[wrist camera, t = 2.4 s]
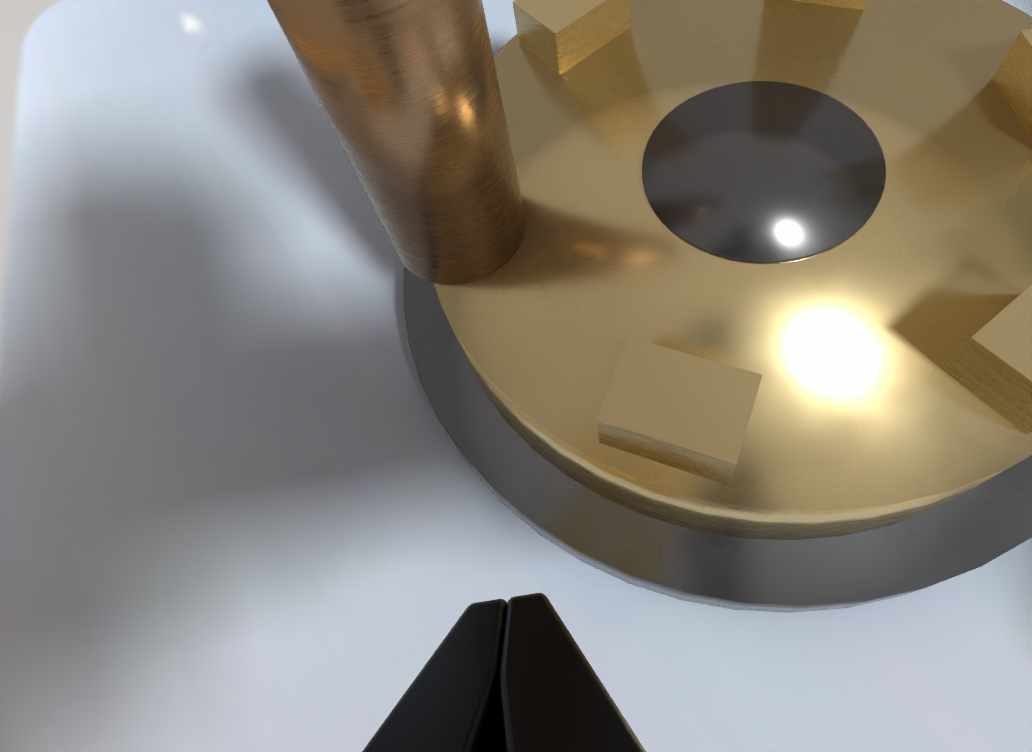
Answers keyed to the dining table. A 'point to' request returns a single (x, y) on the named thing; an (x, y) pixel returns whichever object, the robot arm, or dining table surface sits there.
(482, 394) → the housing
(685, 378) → the brass turntable disc
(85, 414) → the dining table surface
